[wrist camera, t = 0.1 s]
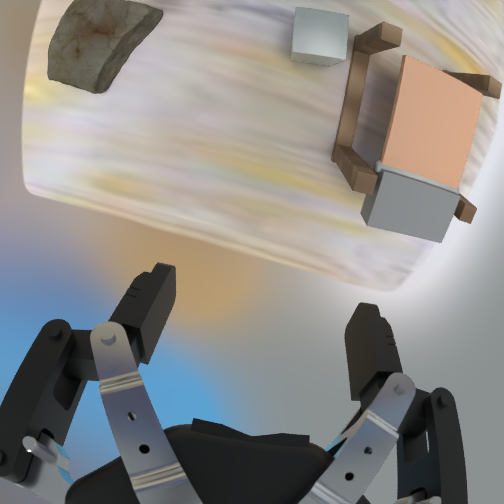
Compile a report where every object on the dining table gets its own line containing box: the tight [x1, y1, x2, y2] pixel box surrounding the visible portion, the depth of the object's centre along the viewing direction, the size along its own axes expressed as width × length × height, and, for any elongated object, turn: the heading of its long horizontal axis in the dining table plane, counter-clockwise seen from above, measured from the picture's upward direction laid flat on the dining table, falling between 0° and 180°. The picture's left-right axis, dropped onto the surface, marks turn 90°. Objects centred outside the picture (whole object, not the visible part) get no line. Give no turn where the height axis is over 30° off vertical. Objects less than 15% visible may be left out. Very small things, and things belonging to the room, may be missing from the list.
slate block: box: [290, 7, 349, 66], centre depth 24 cm, size 5×5×10 cm
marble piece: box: [47, 0, 163, 94], centre depth 27 cm, size 17×15×4 cm
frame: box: [331, 22, 502, 224], centre depth 26 cm, size 18×15×13 cm
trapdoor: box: [361, 55, 483, 243], centre depth 24 cm, size 18×11×3 cm, turn 172°
